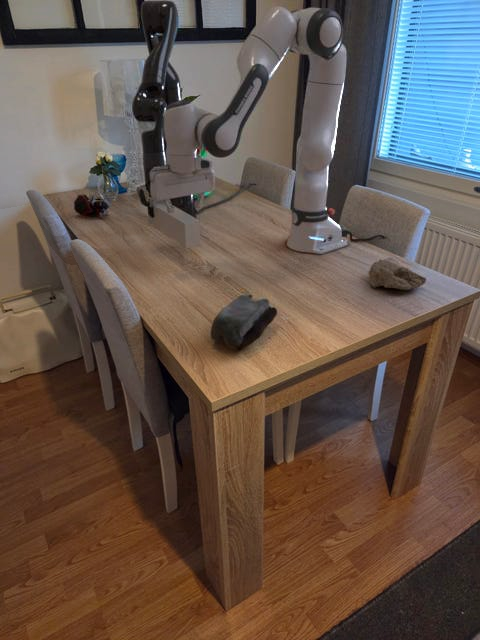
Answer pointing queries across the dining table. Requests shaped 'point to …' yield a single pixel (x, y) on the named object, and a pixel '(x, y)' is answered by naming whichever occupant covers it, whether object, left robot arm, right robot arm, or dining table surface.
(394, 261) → the artifact
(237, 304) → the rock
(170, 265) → the dining table surface
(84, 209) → the toy
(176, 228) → the bar
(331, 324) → the dining table surface
